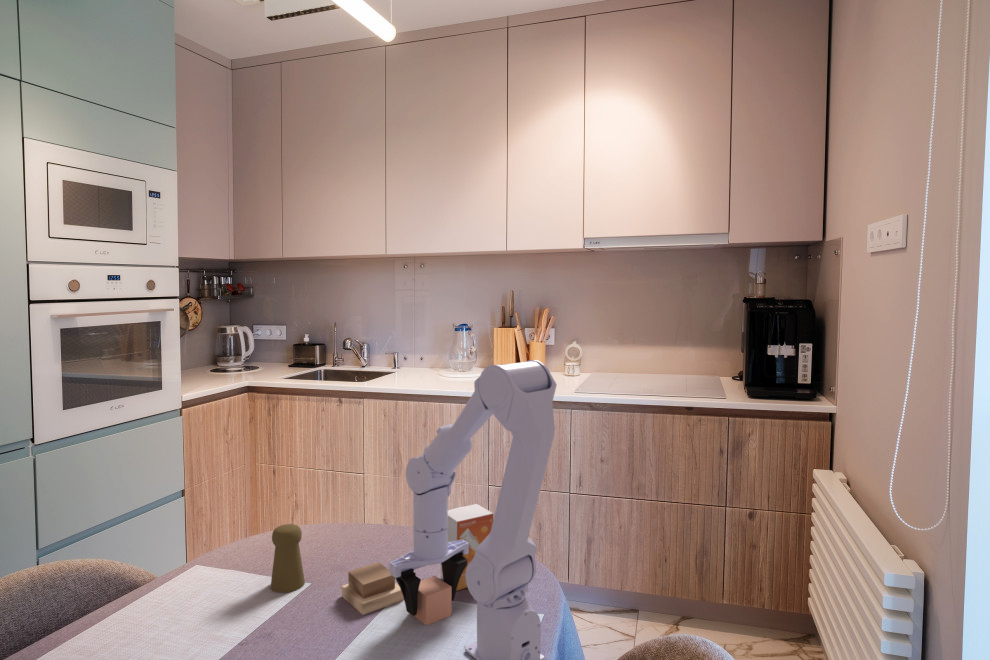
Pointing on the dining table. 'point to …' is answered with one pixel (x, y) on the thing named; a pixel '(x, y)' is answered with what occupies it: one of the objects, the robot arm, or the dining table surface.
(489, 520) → the small box
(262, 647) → the dining table surface
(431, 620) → the terracotta cube
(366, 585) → the walnut top slab
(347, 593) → the birch base slab
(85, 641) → the dining table surface
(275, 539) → the olive game pawn
